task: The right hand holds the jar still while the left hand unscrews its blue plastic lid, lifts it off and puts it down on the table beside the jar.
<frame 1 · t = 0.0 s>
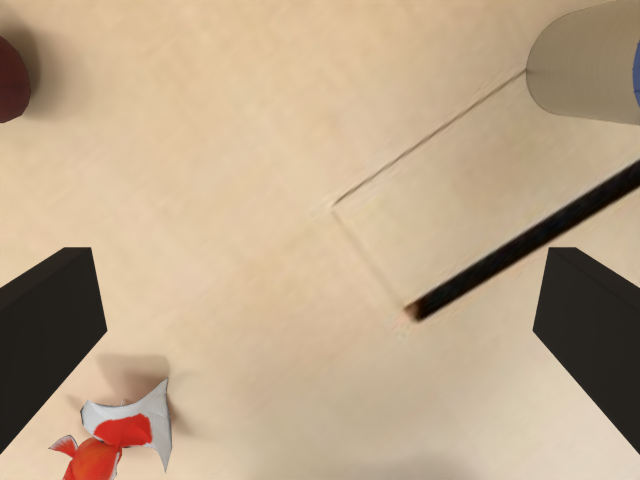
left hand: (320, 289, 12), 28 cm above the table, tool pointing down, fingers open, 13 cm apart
maroon ball: (7, 76, 37), on the table
jar: (574, 65, 36), on the table
fish: (130, 408, 49), on the table
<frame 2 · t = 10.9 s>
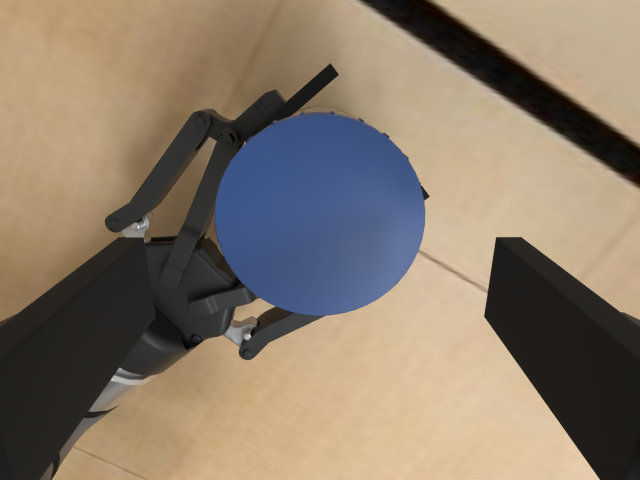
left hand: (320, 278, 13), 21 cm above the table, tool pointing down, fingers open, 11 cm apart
right hand: (379, 131, 26), fingers closed on jar, 8 cm apart
lid: (319, 221, 19), point 15 cm above the table, screwed on, not yet turned
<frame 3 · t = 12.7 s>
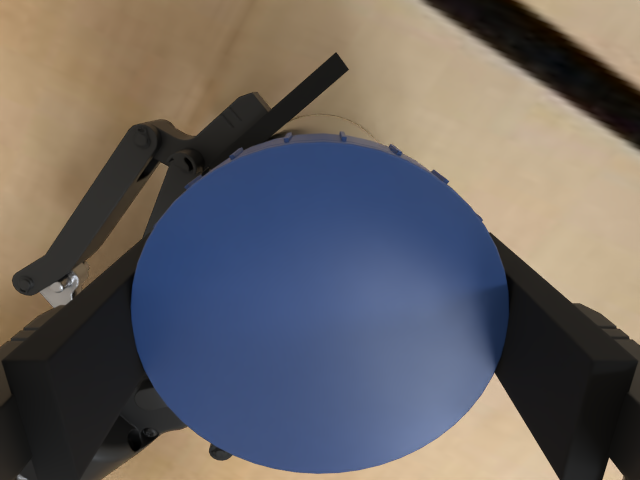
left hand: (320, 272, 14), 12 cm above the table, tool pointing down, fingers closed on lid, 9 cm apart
lid: (319, 325, 11), point 15 cm above the table, screwed on, not yet turned, touching left hand
jar: (320, 187, 25), on the table, touching right hand
when the left hand's fingers open (12 cm above the table, at t = 14.2 s): lid stays where it is, point 15 cm above the table.
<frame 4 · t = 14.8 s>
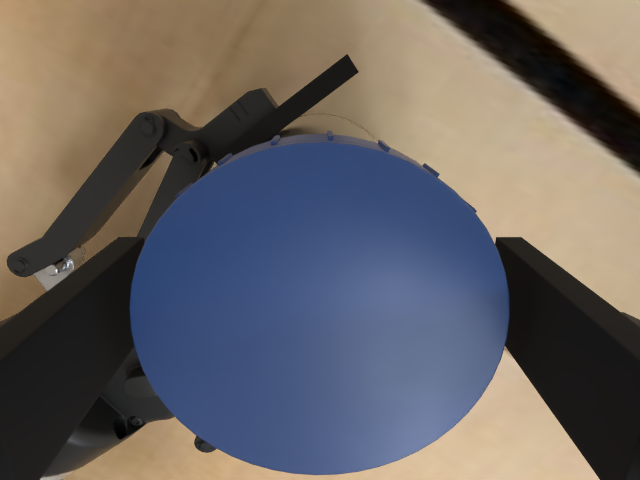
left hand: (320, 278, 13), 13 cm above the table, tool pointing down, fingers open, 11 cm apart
right hand: (409, 157, 18), fingers closed on jar, 8 cm apart
lid: (319, 326, 11), point 15 cm above the table, turned 85° so far, risen 0.2 cm, still on its thread
jar: (319, 187, 25), on the table, touching right hand
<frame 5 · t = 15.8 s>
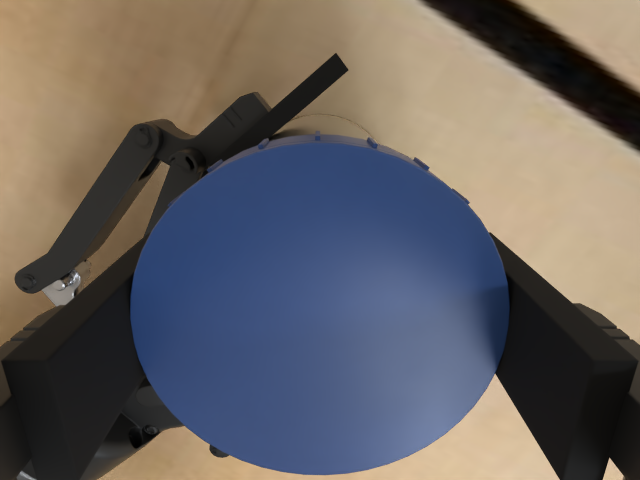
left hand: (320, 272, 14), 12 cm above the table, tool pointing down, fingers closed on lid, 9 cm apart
lid: (319, 326, 11), point 15 cm above the table, turned 85° so far, risen 0.2 cm, still on its thread, touching left hand
jar: (319, 187, 25), on the table, touching right hand
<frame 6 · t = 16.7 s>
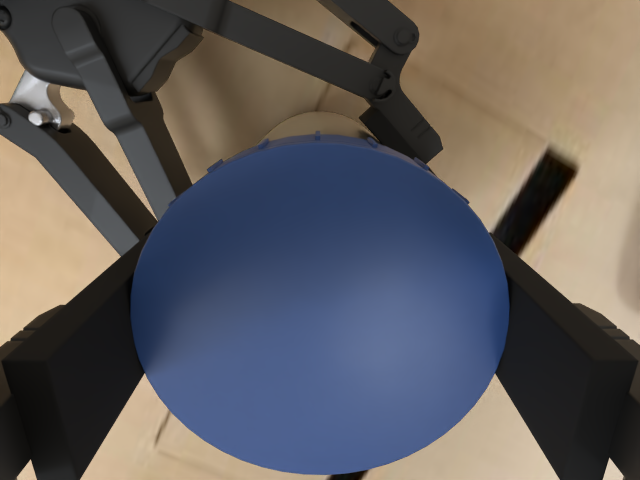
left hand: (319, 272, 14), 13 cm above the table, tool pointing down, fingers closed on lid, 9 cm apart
lid: (319, 326, 11), point 16 cm above the table, off its thread, touching left hand
jar: (319, 183, 25), on the table, touching right hand
when the left hand's fingers open (0 cm above the table, at t = 22.1 s): lid drops 2 cm, point 1 cm above the table.
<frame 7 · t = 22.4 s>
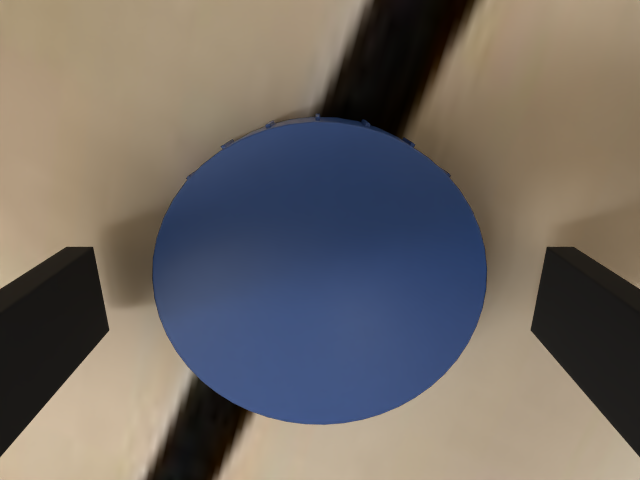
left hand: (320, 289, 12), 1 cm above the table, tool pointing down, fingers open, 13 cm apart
lid: (319, 288, 12), point 1 cm above the table, off its thread
when the right hand's fingers open (6 cm above the table, at t = 23.1 s): jar stays where it is, on the table.
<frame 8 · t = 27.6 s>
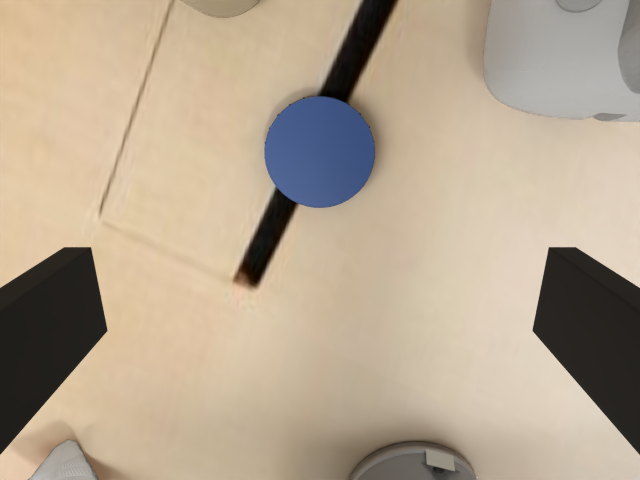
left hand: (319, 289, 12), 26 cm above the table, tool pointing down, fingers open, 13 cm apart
lid: (319, 154, 35), point 1 cm above the table, off its thread
fish: (66, 478, 50), on the table
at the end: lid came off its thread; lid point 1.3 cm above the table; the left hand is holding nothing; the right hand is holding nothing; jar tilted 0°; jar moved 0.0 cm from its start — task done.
